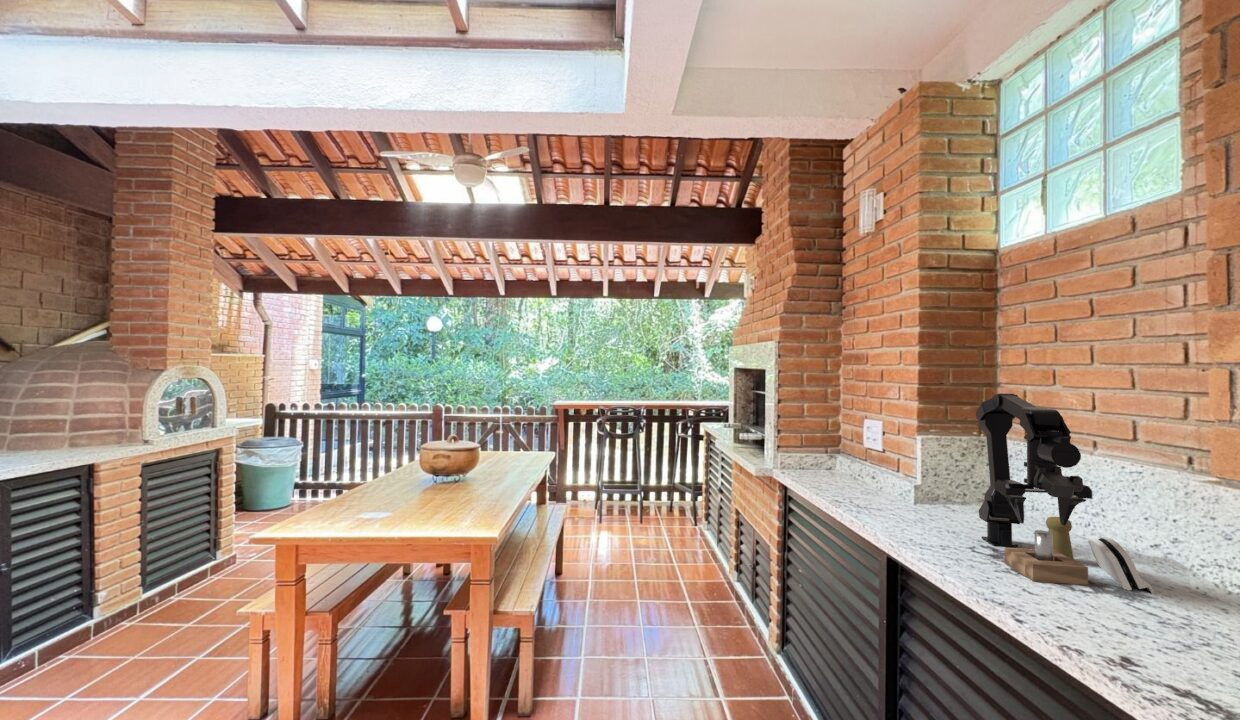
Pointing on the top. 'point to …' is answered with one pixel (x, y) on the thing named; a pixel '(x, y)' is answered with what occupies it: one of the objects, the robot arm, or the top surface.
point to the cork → (1060, 536)
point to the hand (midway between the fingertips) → (1042, 524)
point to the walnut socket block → (1046, 567)
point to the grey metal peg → (1043, 545)
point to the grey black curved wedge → (1117, 563)
